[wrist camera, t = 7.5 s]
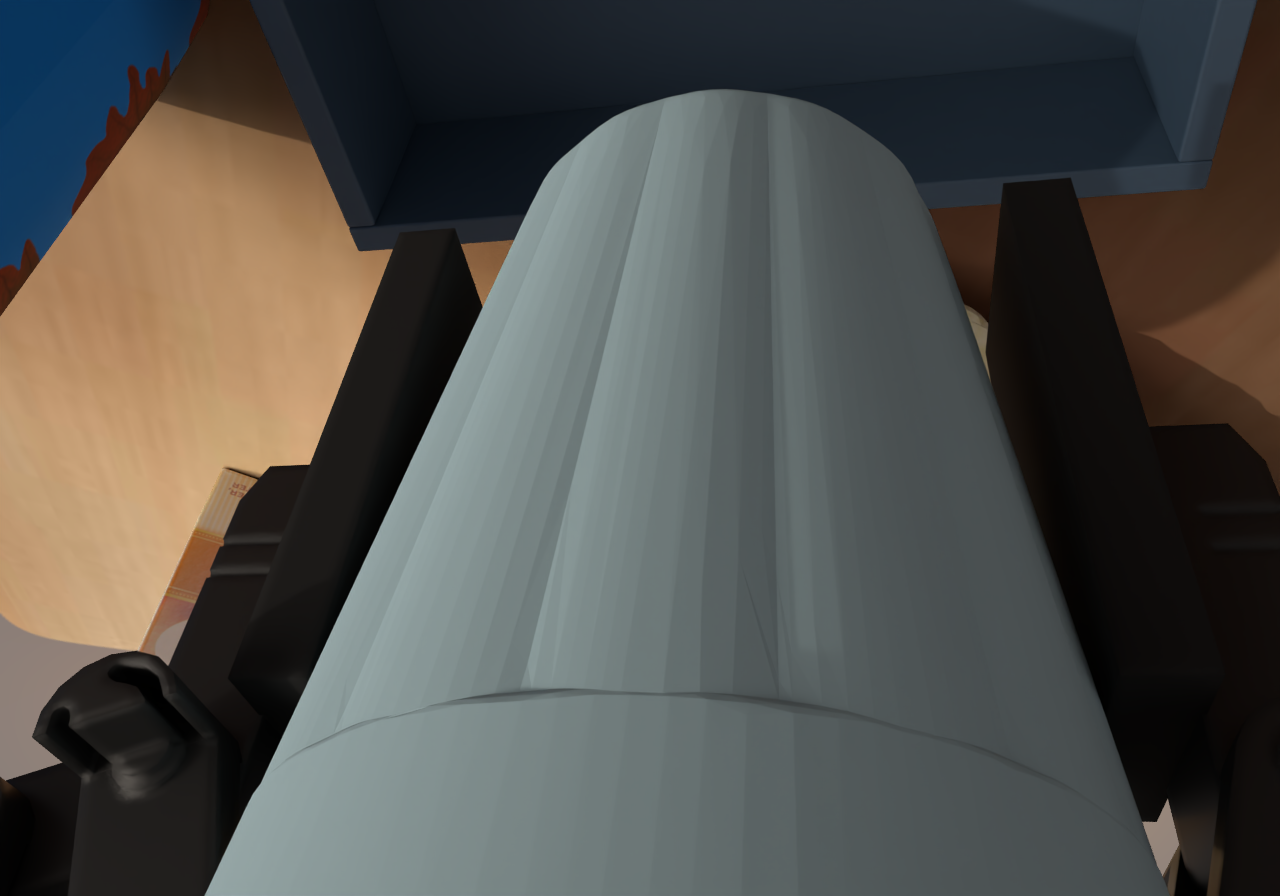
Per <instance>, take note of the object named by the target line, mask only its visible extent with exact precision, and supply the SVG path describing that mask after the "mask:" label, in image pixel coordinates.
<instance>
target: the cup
mask: <svg viewBox="0 0 1280 896" xmlns="http://www.w3.org/2000/svg"><path fill="white" fill-rule="evenodd" d="M205 896H1170V895H1169V892H1168V889H1167V886H1166V883H1165V881H1164V879H1163V876H1162V874H1161V872H1160V870H1159V868H1158V867H1157V864H1156V861H1155V858H1154V855H1153V852H1152V849H1151V846H1150V844H1149V841H1148V838H1147V835H1146V832H1145V829H1144V826H1143V823H1142V820H1141V817H1140V814H1139V811H1138V808H1137V806H1136V803H1135V800H1134V797H1133V794H1132V791H1131V788H1130V785H1129V782H1128V779H1127V777H1126V774H1125V771H1124V768H1123V765H1122V762H1121V759H1120V756H1119V753H1118V750H1117V747H1116V745H1115V742H1114V739H1113V736H1112V733H1111V730H1110V727H1109V724H1108V721H1107V718H1106V716H1105V713H1104V710H1103V707H1102V704H1101V701H1100V698H1099V695H1098V692H1097V689H1096V686H1095V684H1094V681H1093V678H1092V675H1091V672H1090V669H1089V666H1088V663H1087V660H1086V657H1085V655H1084V652H1083V649H1082V646H1081V643H1080V640H1079V637H1078V634H1077V631H1076V628H1075V625H1074V623H1073V620H1072V617H1071V614H1070V611H1069V608H1068V605H1067V602H1066V599H1065V596H1064V594H1063V591H1062V588H1061V585H1060V582H1059V579H1058V576H1057V573H1056V570H1055V567H1054V564H1053V562H1052V559H1051V556H1050V553H1049V550H1048V547H1047V544H1046V541H1045V538H1044V535H1043V532H1042V530H1041V527H1040V524H1039V521H1038V518H1037V515H1036V512H1035V509H1034V506H1033V503H1032V501H1031V498H1030V495H1029V492H1028V489H1027V486H1026V483H1025V480H1024V477H1023V474H1022V471H1021V469H1020V466H1019V463H1018V460H1017V457H1016V454H1015V451H1014V448H1013V445H1012V442H1011V440H1010V437H1009V434H1008V431H1007V428H1006V425H1005V422H1004V419H1003V416H1002V413H1001V410H1000V408H999V405H998V402H997V399H996V396H995V393H994V390H993V387H992V384H991V381H990V379H989V376H988V373H987V370H986V367H985V364H984V361H983V358H982V355H981V352H980V349H979V347H978V344H977V341H976V338H975V335H974V332H973V329H972V326H971V323H970V320H969V318H968V315H967V312H966V309H965V306H964V303H963V300H962V297H961V294H960V291H959V289H958V286H957V283H956V280H955V278H954V275H953V272H952V269H951V267H950V264H949V261H948V258H947V256H946V253H945V250H944V248H943V245H942V242H941V239H940V237H939V234H938V231H937V229H936V226H935V223H934V221H933V219H932V216H931V214H930V212H929V210H928V208H927V206H926V205H925V203H924V201H923V200H922V198H921V196H920V195H919V193H918V191H917V189H916V186H915V184H914V182H913V179H912V177H911V176H910V174H909V173H908V171H907V169H906V168H905V166H904V165H903V164H902V162H901V161H900V160H899V159H898V158H897V157H896V156H895V155H894V154H893V153H892V152H891V151H890V150H889V149H887V148H886V147H885V146H884V145H883V144H881V143H880V142H879V141H877V140H876V139H874V138H873V137H872V136H870V135H869V134H867V133H866V132H864V131H863V130H862V129H860V128H858V127H857V126H855V125H854V124H852V123H851V122H849V121H847V120H846V119H844V118H843V117H841V116H839V115H838V114H836V113H834V112H832V111H830V110H828V109H826V108H823V107H821V106H818V105H816V104H813V103H810V102H807V101H803V100H800V99H796V98H790V97H785V96H779V95H774V94H768V93H760V92H752V91H744V90H736V89H710V90H702V91H695V92H690V93H686V94H681V95H677V96H672V97H668V98H664V99H661V100H657V101H654V102H650V103H647V104H643V105H641V106H638V107H635V108H632V109H629V110H627V111H625V112H623V113H621V114H618V115H616V116H614V117H613V118H611V119H610V120H608V121H607V122H605V123H604V124H602V125H601V126H599V127H598V128H597V129H596V130H594V131H593V132H592V133H591V134H589V135H588V136H587V137H586V138H585V139H583V140H582V141H581V142H580V143H579V144H577V145H576V146H575V147H574V148H573V149H572V150H570V151H569V152H568V153H567V154H566V155H565V156H563V157H562V158H561V159H560V160H559V161H558V162H557V163H556V164H555V165H554V166H553V168H552V169H551V170H550V171H549V173H548V174H547V176H546V177H545V179H544V181H543V182H542V184H541V186H540V188H539V190H538V192H537V194H536V196H535V198H534V200H533V202H532V204H531V206H530V208H529V210H528V212H527V214H526V216H525V218H524V221H523V223H522V225H521V227H520V229H519V231H518V233H517V236H516V238H515V240H514V242H513V244H512V246H511V248H510V250H509V253H508V255H507V257H506V259H505V261H504V263H503V265H502V268H501V270H500V272H499V274H498V276H497V278H496V280H495V283H494V285H493V287H492V289H491V291H490V293H489V295H488V297H487V300H486V302H485V304H484V306H483V308H482V310H481V312H480V315H479V317H478V319H477V321H476V323H475V325H474V327H473V330H472V332H471V334H470V336H469V338H468V340H467V342H466V345H465V347H464V349H463V351H462V353H461V355H460V357H459V360H458V362H457V364H456V366H455V368H454V370H453V372H452V375H451V377H450V379H449V381H448V383H447V385H446V387H445V390H444V392H443V394H442V396H441V398H440V400H439V402H438V405H437V407H436V409H435V411H434V413H433V415H432V417H431V420H430V422H429V424H428V426H427V428H426V430H425V432H424V435H423V437H422V439H421V441H420V443H419V445H418V447H417V450H416V452H415V454H414V456H413V458H412V460H411V462H410V465H409V467H408V469H407V471H406V473H405V475H404V478H403V480H402V482H401V484H400V486H399V488H398V490H397V493H396V495H395V497H394V499H393V501H392V503H391V505H390V508H389V510H388V512H387V514H386V516H385V518H384V520H383V523H382V525H381V527H380V529H379V531H378V533H377V535H376V538H375V540H374V542H373V544H372V546H371V548H370V550H369V553H368V555H367V557H366V559H365V561H364V563H363V565H362V568H361V570H360V572H359V574H358V576H357V578H356V580H355V583H354V585H353V587H352V589H351V591H350V593H349V595H348V598H347V600H346V602H345V604H344V606H343V608H342V610H341V613H340V615H339V617H338V619H337V621H336V623H335V625H334V628H333V630H332V632H331V634H330V636H329V638H328V640H327V643H326V645H325V647H324V649H323V651H322V653H321V655H320V658H319V660H318V662H317V664H316V666H315V668H314V670H313V673H312V675H311V677H310V679H309V681H308V683H307V685H306V688H305V690H304V692H303V694H302V696H301V698H300V700H299V703H298V705H297V707H296V709H295V711H294V713H293V715H292V718H291V720H290V722H289V724H288V726H287V728H286V730H285V733H284V735H283V737H282V739H281V741H280V743H279V745H278V748H277V750H276V752H275V754H274V756H273V758H272V760H271V763H270V765H269V767H268V769H267V771H266V773H265V775H264V778H263V780H262V782H261V784H260V785H259V787H258V788H257V789H256V791H255V792H254V793H253V795H252V797H251V799H250V801H249V803H248V805H247V807H246V809H245V811H244V813H243V815H242V817H241V820H240V822H239V824H238V826H237V828H236V830H235V832H234V834H233V837H232V839H231V841H230V843H229V845H228V847H227V849H226V851H225V854H224V856H223V858H222V860H221V862H220V864H219V866H218V869H217V871H216V873H215V875H214V877H213V879H212V881H211V883H210V886H209V888H208V890H207V892H206V894H205Z"/></svg>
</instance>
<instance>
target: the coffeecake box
mask: <svg viewBox="0 0 1280 896" xmlns="http://www.w3.org/2000/svg"><path fill="white" fill-rule="evenodd" d="M257 481H258V480H257V479H254V478H252V477H249V476H246V475H243V474H240V473H237V472H234V471H231V470H228V469H226V468H223V469H222V470H221V472H220V474H219V476H218V478H217V480H216V482H215V484H214V486H213V489H212V491H211V493H210V495H209V497H208V499H207V501H206V503H205V505H204V507H203V509H202V511H201V513H200V515H199V517H198V520H197V522H196V524H195V526H194V529H193V531H192V533H191V535H190V537H189V540H188V542H187V544H186V546H185V548H184V550H183V553H182V555H181V557H180V559H179V561H178V563H177V565H176V568H175V570H174V572H173V574H172V576H171V578H170V581H169V583H168V585H167V587H166V589H165V591H164V594H163V596H162V598H161V600H160V602H159V605H158V607H157V609H156V611H155V613H154V615H153V618H152V620H151V622H150V624H149V626H148V629H147V631H146V633H145V635H144V637H143V640H142V642H141V644H140V646H139V648H138V650H137V651H140V652H144V653H148V654H152V655H156V656H159V657H160V658H161V659H162V660H163V661H164V662H165V663H166V664H167V665H169V663H170V661H171V658H172V656H173V654H174V651H175V649H176V647H177V644H178V642H179V640H180V638H181V635H182V633H183V631H184V628H185V626H186V624H187V621H188V619H189V617H190V614H191V612H192V610H193V607H194V605H195V603H196V600H197V598H198V596H199V593H200V591H201V589H202V587H203V584H204V582H205V580H206V578H209V577H210V575H211V572H210V568H211V566H212V563H213V561H214V559H215V556H216V554H217V552H218V549H219V547H220V546H223V545H224V540H223V538H224V536H225V533H226V531H227V529H228V526H229V524H230V522H231V519H232V517H233V515H234V512H235V510H236V508H237V505H238V503H239V501H240V500H241V499H242V497H243V496H244V495H245V494H246V493H247V492H248V491H249V490H250V488H251V487H252V486H253V485H254V484H255V483H256V482H257Z"/></svg>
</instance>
